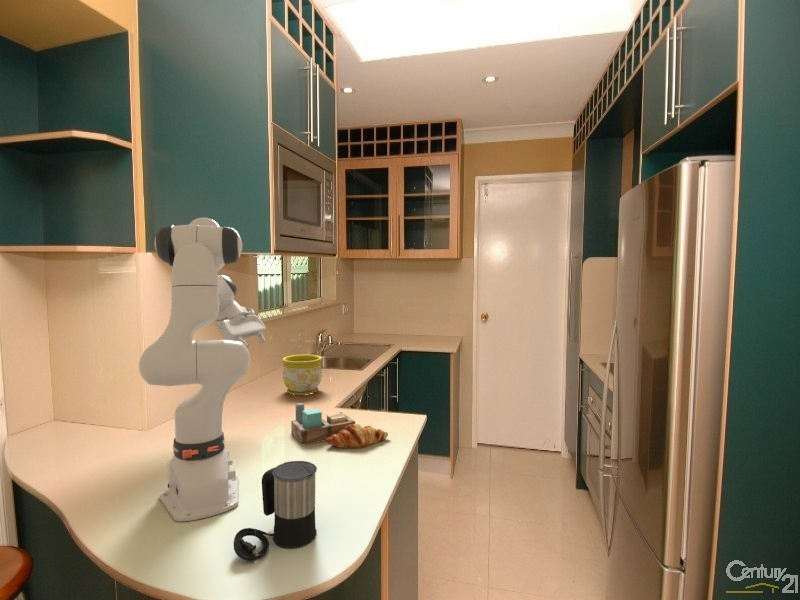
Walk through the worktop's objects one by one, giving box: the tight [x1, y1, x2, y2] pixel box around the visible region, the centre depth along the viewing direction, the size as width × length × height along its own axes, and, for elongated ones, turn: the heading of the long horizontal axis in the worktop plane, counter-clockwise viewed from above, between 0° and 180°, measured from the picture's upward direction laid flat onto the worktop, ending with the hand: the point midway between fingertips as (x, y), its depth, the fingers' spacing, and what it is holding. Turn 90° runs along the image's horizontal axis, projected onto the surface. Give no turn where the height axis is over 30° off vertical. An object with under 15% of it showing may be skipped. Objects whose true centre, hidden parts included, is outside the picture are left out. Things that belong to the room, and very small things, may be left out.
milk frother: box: [233, 460, 318, 562], centre depth 92 cm, size 14×16×15 cm
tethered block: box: [295, 402, 323, 429], centre depth 156 cm, size 17×5×9 cm, turn 31°
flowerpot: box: [282, 354, 323, 396], centre depth 207 cm, size 18×18×16 cm
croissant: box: [325, 423, 389, 449], centre depth 146 cm, size 21×10×8 cm, turn 112°
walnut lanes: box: [290, 411, 356, 445], centre depth 154 cm, size 12×19×4 cm, turn 121°
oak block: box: [326, 412, 345, 425], centre depth 156 cm, size 5×5×6 cm
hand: (255, 344), depth 162 cm, fingers open, 8 cm apart
